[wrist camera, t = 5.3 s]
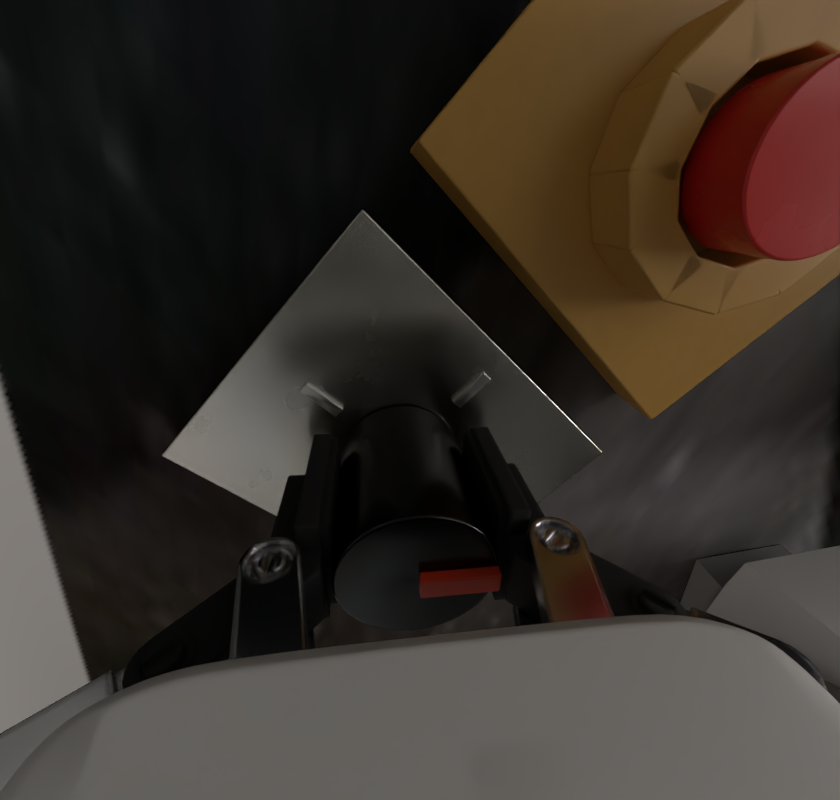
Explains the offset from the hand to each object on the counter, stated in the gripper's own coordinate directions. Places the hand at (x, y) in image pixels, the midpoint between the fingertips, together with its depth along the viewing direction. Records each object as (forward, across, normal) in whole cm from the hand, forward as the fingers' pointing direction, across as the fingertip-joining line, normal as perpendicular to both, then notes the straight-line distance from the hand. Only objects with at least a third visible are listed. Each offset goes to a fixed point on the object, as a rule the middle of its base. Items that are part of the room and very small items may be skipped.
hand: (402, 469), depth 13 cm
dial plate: (+3, 0, 0) cm, 3 cm away
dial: (+1, 0, 0) cm, 1 cm away
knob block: (+3, -8, -9) cm, 12 cm away
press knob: (-1, -8, -9) cm, 12 cm away
